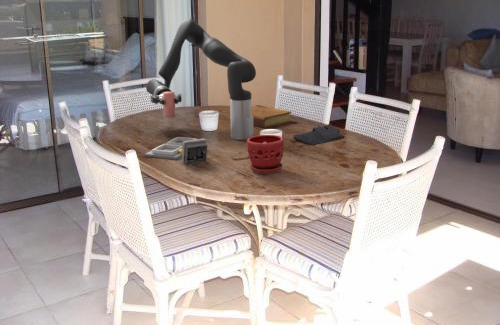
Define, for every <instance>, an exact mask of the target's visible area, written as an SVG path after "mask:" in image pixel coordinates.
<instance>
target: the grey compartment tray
mask: <svg viewBox="0 0 500 325" xmlns="http://www.w3.org/2000/svg"><path fill="white" fill-rule="evenodd" d="M197 139H198V138H197V137H196V138H193V137H184V136H183V137H182V136H177V137H174V138H173V139H171V140H169V141H167V142H165V143H163V144H161V145H159V146H157V147H155V148H153V149H152V150H150V151H147V152H146V153H145V157H146V158H147V157H149V158H158V159H168V160H178V159H180V158H182V147H183V142H184V141H188V140H197Z"/></svg>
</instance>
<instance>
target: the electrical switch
mask: <svg viewBox="0 0 500 325" xmlns="http://www.w3.org/2000/svg"><path fill="white" fill-rule="evenodd" d="M196 139H197V140H188V141H184V142H183V147H182V157H181V162H182V163H185V164H186V165H187V166H189V165H195V164H203V163H206V162H207V155H208V154H207V153H208V144H207V143H208V139H206V138H199V139H198V138H196Z"/></svg>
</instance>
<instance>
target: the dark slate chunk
mask: <svg viewBox="0 0 500 325" xmlns="http://www.w3.org/2000/svg"><path fill="white" fill-rule="evenodd" d="M340 131H341V130H340V129H339V128H338V127H335V126H334V125H332V124H331V123H329V124H326V125H323V126H317V127H316V126H314V127H312V130H311V131H308V132H303V133H298V134H294V135H293V136H292V138H293V139H294V140H296V141H300V142H301V143H305V144H306V145H310V146H317V144H318V145H322V144H327V143H330V142H334V140H335V141H338V139H339V140H342V139H341V138H343V139H345V138H344V137H345V136H344V135H342V134H341V132H340Z"/></svg>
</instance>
